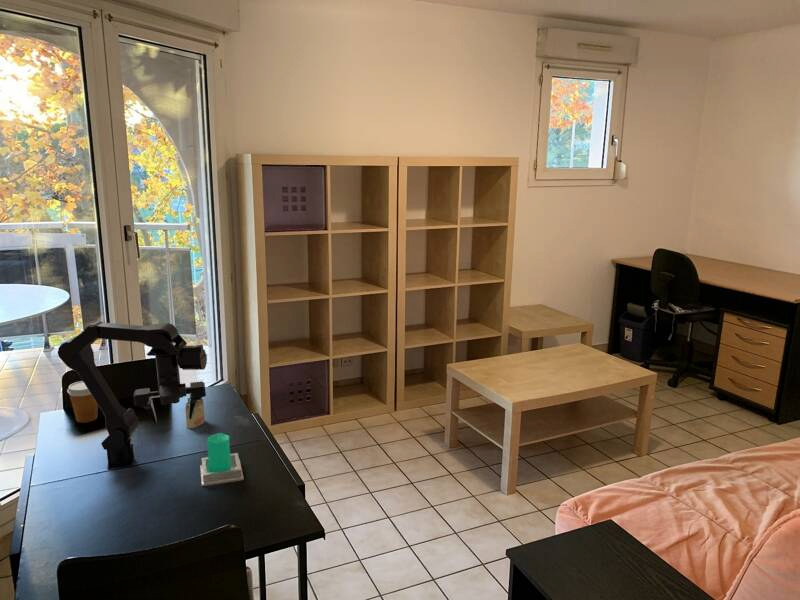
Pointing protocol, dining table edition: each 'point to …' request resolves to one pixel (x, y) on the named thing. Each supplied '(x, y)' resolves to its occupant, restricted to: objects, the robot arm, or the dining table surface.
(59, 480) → the dining table surface
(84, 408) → the disposable coffee cup
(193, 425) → the lighter
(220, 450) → the candle
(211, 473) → the white tray
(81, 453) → the dining table surface
